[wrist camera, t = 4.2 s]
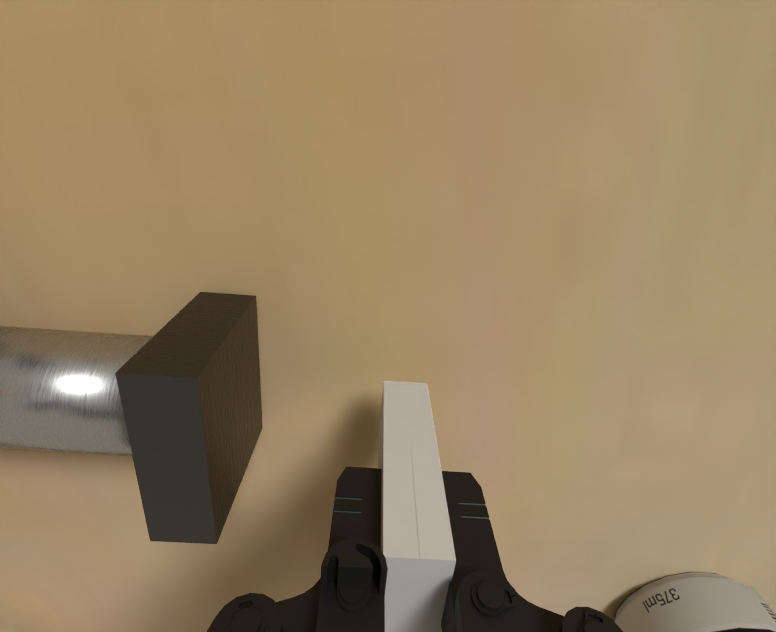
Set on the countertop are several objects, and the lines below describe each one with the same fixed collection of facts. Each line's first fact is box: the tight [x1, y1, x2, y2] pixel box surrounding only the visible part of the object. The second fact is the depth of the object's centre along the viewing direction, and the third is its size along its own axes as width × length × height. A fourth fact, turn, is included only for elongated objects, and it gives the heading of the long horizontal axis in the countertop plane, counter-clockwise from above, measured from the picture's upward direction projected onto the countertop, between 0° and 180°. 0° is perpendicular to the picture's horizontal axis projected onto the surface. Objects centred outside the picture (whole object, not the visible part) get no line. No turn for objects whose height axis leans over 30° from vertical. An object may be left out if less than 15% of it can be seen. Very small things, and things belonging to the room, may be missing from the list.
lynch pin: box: [0, 292, 262, 544], centre depth 14 cm, size 6×11×6 cm, turn 85°
